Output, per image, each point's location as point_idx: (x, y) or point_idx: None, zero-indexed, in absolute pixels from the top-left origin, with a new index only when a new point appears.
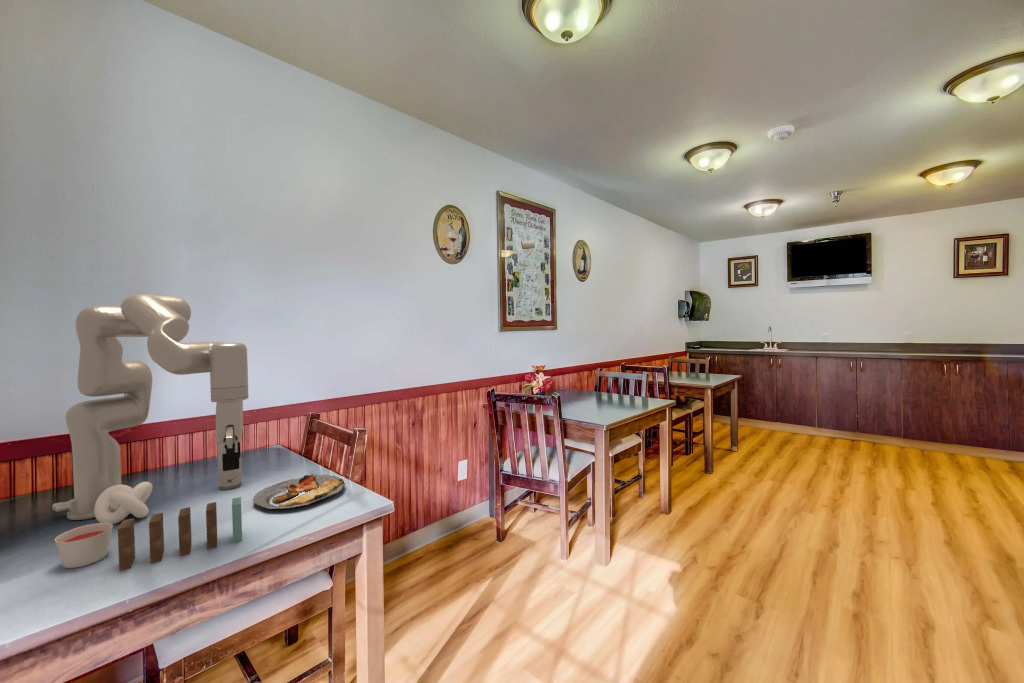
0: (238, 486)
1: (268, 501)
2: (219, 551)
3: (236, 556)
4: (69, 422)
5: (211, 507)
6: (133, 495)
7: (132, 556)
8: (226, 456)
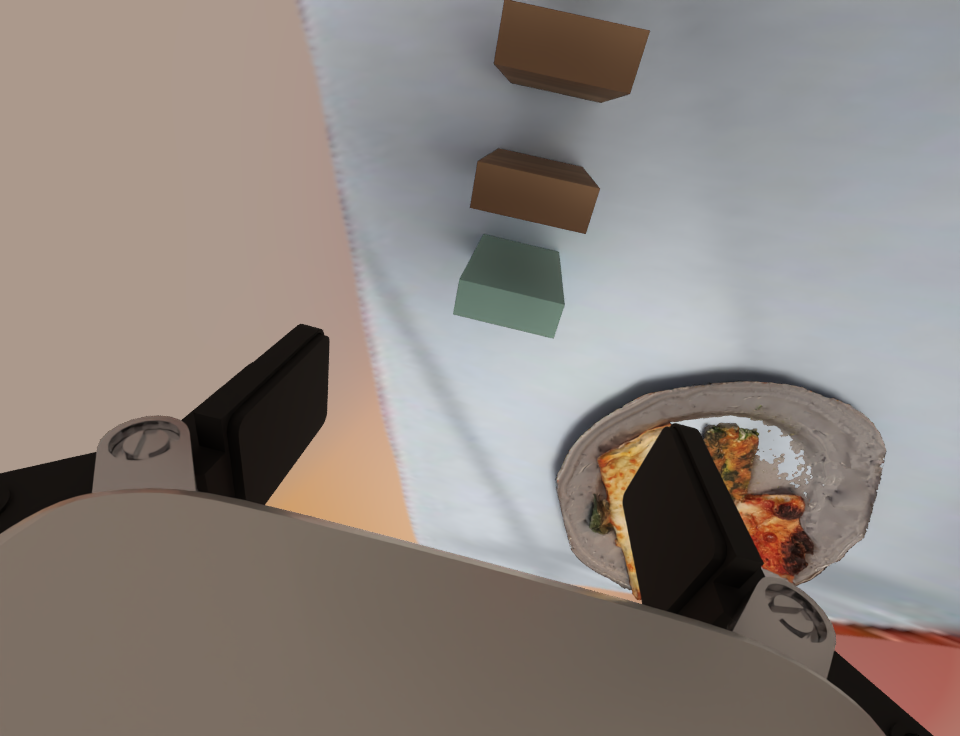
0: None
1: (763, 419)
2: (447, 181)
3: (368, 217)
4: None
5: (511, 196)
6: None
7: None
8: (181, 420)
